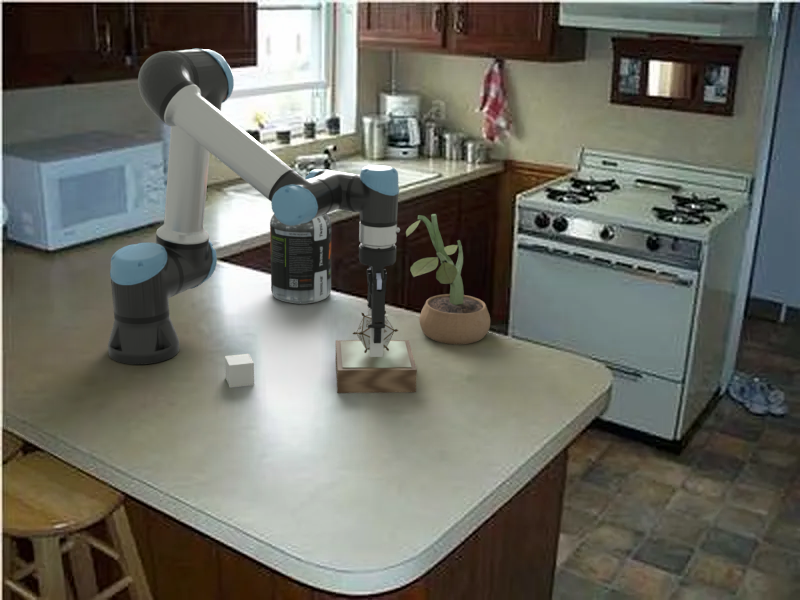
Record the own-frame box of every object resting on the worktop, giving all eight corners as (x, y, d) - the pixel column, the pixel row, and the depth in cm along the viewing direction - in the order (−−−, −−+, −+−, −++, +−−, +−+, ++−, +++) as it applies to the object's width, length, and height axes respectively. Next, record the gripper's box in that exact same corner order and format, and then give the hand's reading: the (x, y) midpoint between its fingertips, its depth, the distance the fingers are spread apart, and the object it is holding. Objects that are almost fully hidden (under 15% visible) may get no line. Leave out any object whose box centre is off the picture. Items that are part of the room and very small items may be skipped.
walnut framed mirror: (337, 392, 183) (337, 369, 181) (335, 361, 198) (335, 339, 196) (415, 392, 185) (416, 368, 183) (408, 361, 200) (408, 339, 198)
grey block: (229, 388, 184) (229, 365, 182) (225, 378, 188) (224, 356, 186) (254, 385, 185) (253, 362, 184) (249, 375, 190) (248, 353, 188)
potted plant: (462, 316, 228) (469, 199, 218) (503, 340, 213) (513, 216, 204) (383, 329, 218) (387, 207, 208) (421, 355, 203) (427, 226, 193)
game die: (380, 368, 189) (390, 344, 181) (343, 351, 189) (352, 325, 181) (396, 337, 194) (407, 312, 186) (361, 320, 195) (370, 294, 187)
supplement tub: (342, 299, 237) (343, 203, 228) (288, 309, 228) (287, 209, 220) (312, 283, 249) (312, 190, 240) (260, 291, 240) (259, 196, 232)
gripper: (401, 259, 172) (397, 368, 179) (391, 229, 192) (388, 327, 200) (362, 259, 171) (359, 368, 178) (356, 229, 192) (354, 327, 199)
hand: (374, 346), depth 189 cm, fingers closed on game die, 9 cm apart
